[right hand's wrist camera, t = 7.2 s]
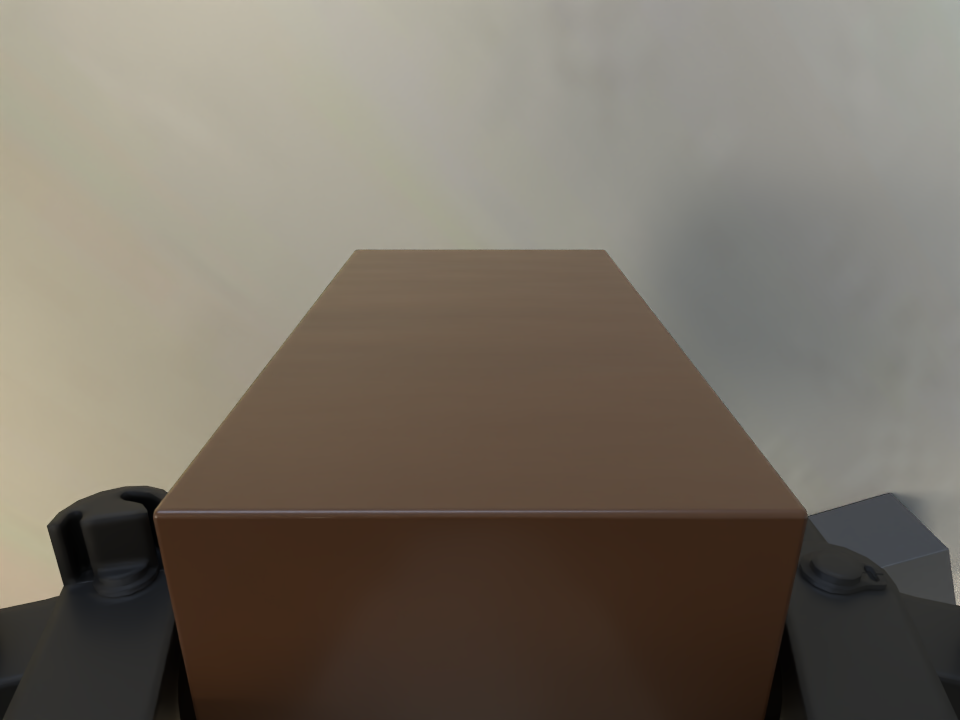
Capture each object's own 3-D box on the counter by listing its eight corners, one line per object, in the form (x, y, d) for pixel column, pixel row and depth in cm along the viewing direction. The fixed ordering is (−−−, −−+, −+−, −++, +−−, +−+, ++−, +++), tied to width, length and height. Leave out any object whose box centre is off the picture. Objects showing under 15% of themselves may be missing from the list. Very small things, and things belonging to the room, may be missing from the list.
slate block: (816, 585, 32) (860, 650, 28) (801, 518, 30) (845, 577, 27) (902, 561, 31) (959, 624, 28) (890, 492, 30) (949, 549, 26)
